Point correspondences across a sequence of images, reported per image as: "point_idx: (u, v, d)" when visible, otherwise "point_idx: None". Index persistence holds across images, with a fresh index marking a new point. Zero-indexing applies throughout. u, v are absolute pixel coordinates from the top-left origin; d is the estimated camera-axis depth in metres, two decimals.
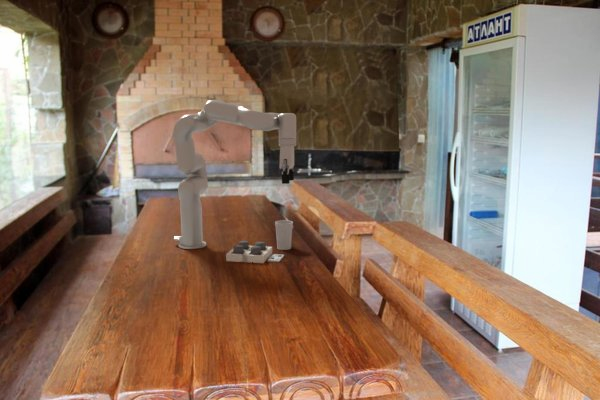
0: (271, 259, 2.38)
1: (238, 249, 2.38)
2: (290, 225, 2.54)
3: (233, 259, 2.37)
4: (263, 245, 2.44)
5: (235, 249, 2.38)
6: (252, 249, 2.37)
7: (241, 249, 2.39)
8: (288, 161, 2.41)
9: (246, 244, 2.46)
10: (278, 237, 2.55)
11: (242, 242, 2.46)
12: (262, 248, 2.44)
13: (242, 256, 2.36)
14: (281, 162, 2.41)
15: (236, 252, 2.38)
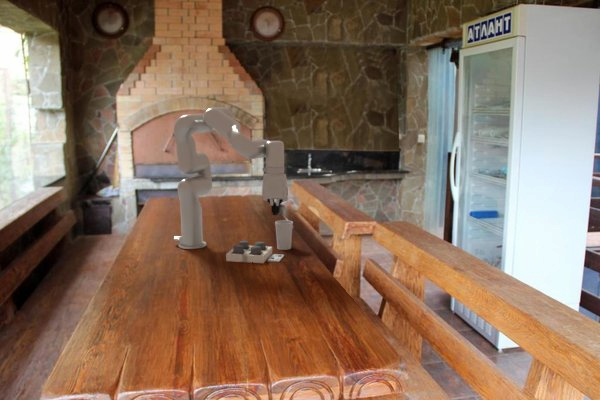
0: (271, 259, 2.38)
1: (238, 249, 2.38)
2: (290, 225, 2.54)
3: (233, 259, 2.37)
4: (263, 245, 2.44)
5: (235, 249, 2.38)
6: (252, 249, 2.37)
7: (241, 249, 2.39)
8: None
9: (246, 244, 2.46)
10: (278, 237, 2.55)
11: (242, 242, 2.46)
12: (262, 248, 2.44)
13: (242, 256, 2.36)
14: (286, 191, 2.34)
15: (236, 252, 2.38)
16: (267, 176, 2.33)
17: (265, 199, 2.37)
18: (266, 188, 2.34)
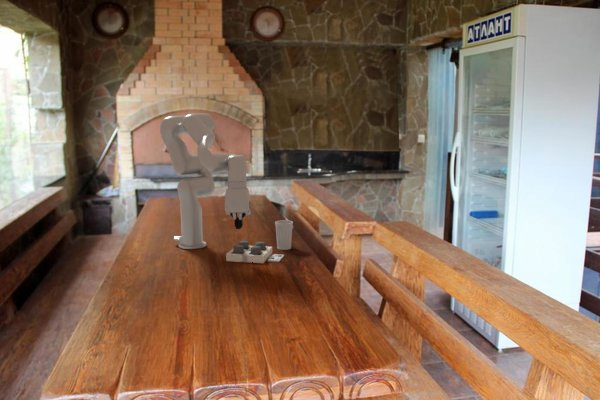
0: (271, 259, 2.38)
1: (238, 249, 2.38)
2: (290, 225, 2.54)
3: (233, 259, 2.37)
4: (263, 245, 2.44)
5: (235, 249, 2.38)
6: (252, 249, 2.37)
7: (241, 249, 2.39)
8: None
9: (246, 244, 2.46)
10: (278, 237, 2.55)
11: (242, 242, 2.46)
12: (262, 248, 2.44)
13: (242, 256, 2.36)
14: (248, 205, 2.34)
15: (236, 252, 2.38)
16: (229, 190, 2.34)
17: (228, 213, 2.38)
18: (228, 202, 2.34)
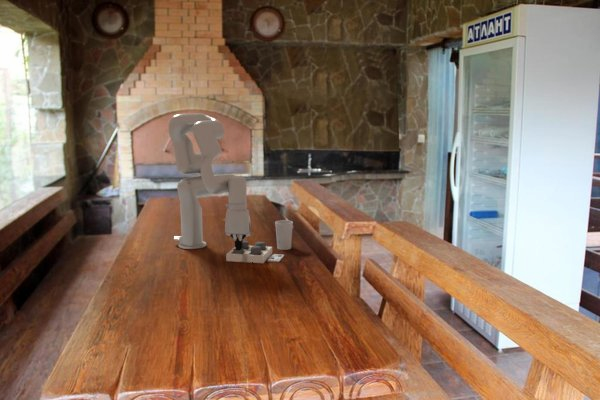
0: (271, 259, 2.38)
1: (238, 252, 2.38)
2: (290, 225, 2.54)
3: (233, 259, 2.37)
4: (263, 245, 2.44)
5: (235, 252, 2.39)
6: (252, 249, 2.37)
7: (241, 252, 2.39)
8: None
9: (246, 244, 2.46)
10: (278, 237, 2.55)
11: None
12: (262, 248, 2.44)
13: (242, 256, 2.36)
14: (248, 227, 2.36)
15: None
16: (230, 212, 2.35)
17: (228, 234, 2.39)
18: (229, 224, 2.36)
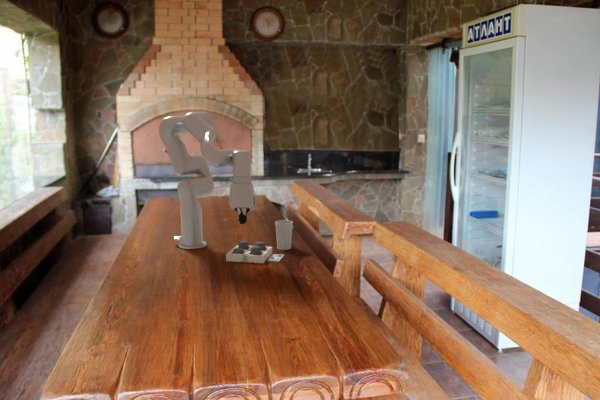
0: (271, 259, 2.38)
1: (238, 252, 2.38)
2: (290, 225, 2.54)
3: (233, 259, 2.37)
4: (263, 245, 2.44)
5: (235, 252, 2.39)
6: (252, 249, 2.37)
7: (241, 252, 2.39)
8: None
9: (246, 244, 2.46)
10: (278, 237, 2.55)
11: (242, 242, 2.46)
12: (262, 248, 2.44)
13: (242, 256, 2.36)
14: (252, 200, 2.35)
15: None
16: (234, 185, 2.35)
17: (232, 208, 2.39)
18: (233, 197, 2.35)
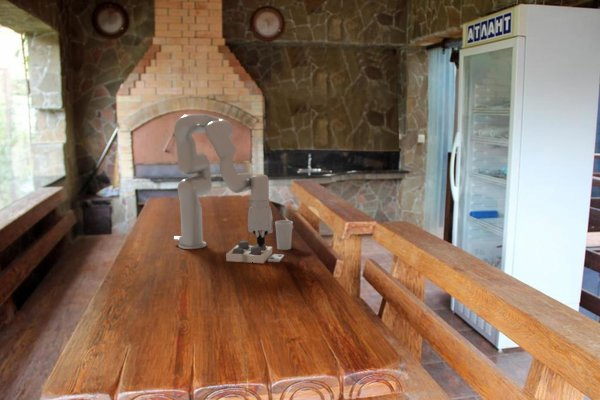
0: (271, 259, 2.38)
1: (238, 252, 2.38)
2: (290, 225, 2.54)
3: (233, 259, 2.37)
4: (263, 248, 2.44)
5: (235, 252, 2.39)
6: (252, 249, 2.37)
7: (241, 252, 2.39)
8: (271, 226, 2.45)
9: (246, 244, 2.46)
10: (278, 237, 2.55)
11: (242, 242, 2.46)
12: None
13: (242, 256, 2.36)
14: (270, 223, 2.41)
15: None
16: (252, 209, 2.41)
17: (251, 231, 2.45)
18: (251, 220, 2.42)
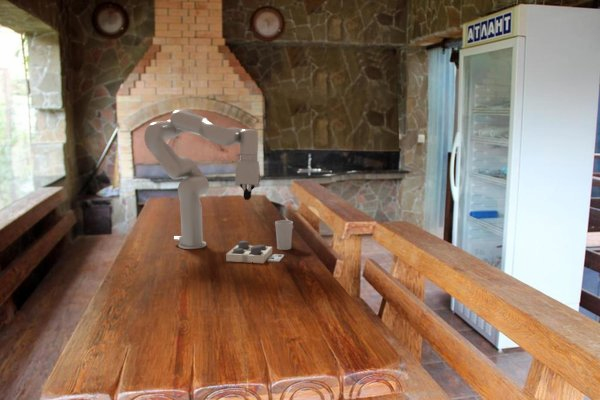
0: (271, 259, 2.38)
1: (238, 252, 2.38)
2: (290, 225, 2.54)
3: (233, 259, 2.37)
4: (263, 248, 2.44)
5: (235, 252, 2.39)
6: (252, 249, 2.37)
7: (241, 252, 2.39)
8: None
9: (246, 244, 2.46)
10: (278, 237, 2.55)
11: (242, 242, 2.46)
12: None
13: (242, 256, 2.36)
14: (257, 177, 2.46)
15: None
16: (240, 162, 2.45)
17: (238, 184, 2.49)
18: (239, 174, 2.46)
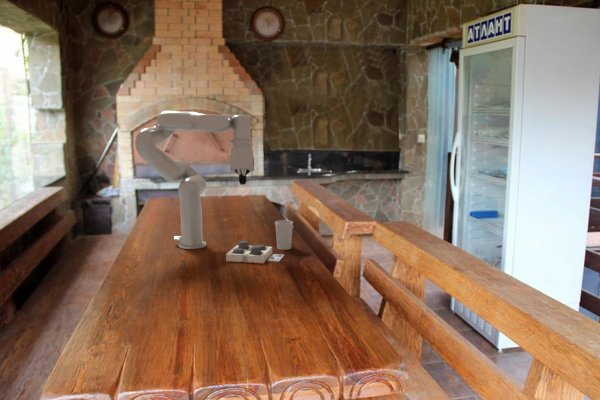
0: (271, 259, 2.38)
1: (238, 252, 2.38)
2: (290, 225, 2.54)
3: (233, 259, 2.37)
4: (263, 248, 2.44)
5: (235, 252, 2.39)
6: (252, 249, 2.37)
7: (241, 252, 2.39)
8: (252, 165, 2.53)
9: (246, 244, 2.46)
10: (278, 237, 2.55)
11: (242, 242, 2.46)
12: None
13: (242, 256, 2.36)
14: (252, 162, 2.49)
15: None
16: (234, 148, 2.49)
17: (233, 170, 2.53)
18: (233, 159, 2.50)
